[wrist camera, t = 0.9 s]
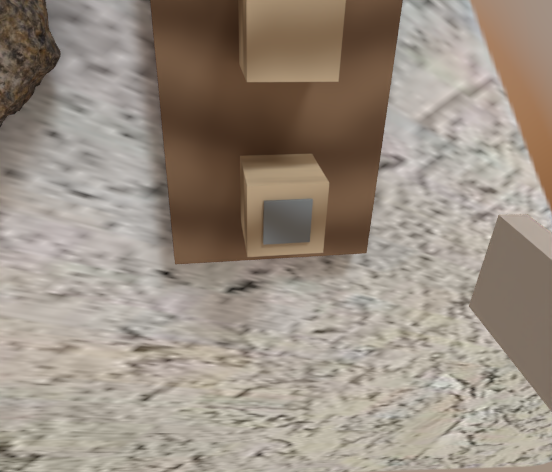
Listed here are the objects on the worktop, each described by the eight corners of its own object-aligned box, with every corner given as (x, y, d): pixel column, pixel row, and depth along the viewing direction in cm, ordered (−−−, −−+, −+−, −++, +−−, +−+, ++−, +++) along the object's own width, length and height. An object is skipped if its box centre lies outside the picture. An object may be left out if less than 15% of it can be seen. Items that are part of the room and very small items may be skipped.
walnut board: (115, -414, 21) (108, -446, 19) (439, -370, 23) (459, -396, 21) (175, 250, 38) (175, 264, 36) (358, 240, 40) (366, 253, 38)
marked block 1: (240, 155, 33) (247, 187, 28) (311, 153, 33) (330, 184, 29) (240, 220, 35) (247, 258, 31) (307, 217, 36) (323, 254, 32)
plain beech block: (238, -29, 27) (246, -26, 23) (324, -27, 28) (348, -23, 24) (239, 63, 30) (246, 82, 25) (318, 63, 30) (338, 81, 26)
